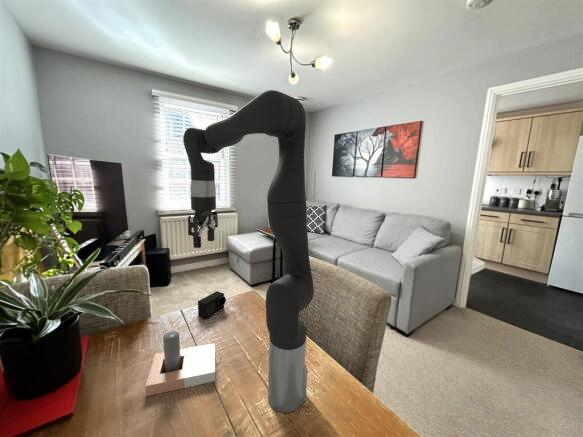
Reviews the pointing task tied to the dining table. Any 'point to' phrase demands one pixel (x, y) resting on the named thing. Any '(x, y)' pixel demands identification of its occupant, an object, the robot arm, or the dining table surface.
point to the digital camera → (211, 305)
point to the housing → (183, 370)
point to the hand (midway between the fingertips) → (204, 244)
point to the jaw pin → (172, 352)
